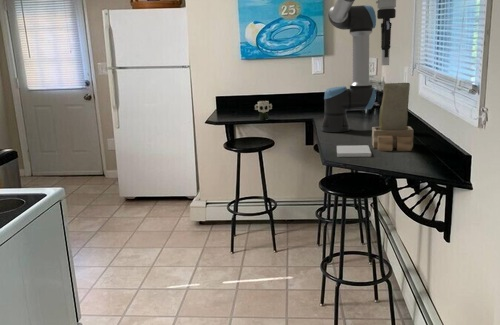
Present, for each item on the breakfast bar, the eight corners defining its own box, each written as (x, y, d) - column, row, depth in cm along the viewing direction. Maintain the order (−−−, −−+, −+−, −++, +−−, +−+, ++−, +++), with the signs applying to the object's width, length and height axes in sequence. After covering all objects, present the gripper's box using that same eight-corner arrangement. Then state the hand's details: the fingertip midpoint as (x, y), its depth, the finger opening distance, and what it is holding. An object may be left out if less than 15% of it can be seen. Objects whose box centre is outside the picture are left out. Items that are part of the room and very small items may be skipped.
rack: (371, 143, 224) (372, 126, 222) (409, 143, 221) (409, 126, 219) (373, 148, 215) (374, 130, 213) (412, 147, 212) (413, 130, 210)
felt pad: (336, 148, 216) (336, 145, 216) (368, 148, 214) (368, 145, 214) (337, 156, 201) (337, 153, 201) (371, 156, 199) (371, 153, 198)
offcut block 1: (377, 148, 213) (377, 135, 212) (391, 148, 212) (391, 135, 210) (378, 150, 209) (378, 137, 208) (392, 150, 208) (392, 137, 207)
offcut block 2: (395, 148, 212) (396, 135, 210) (409, 148, 211) (410, 135, 209) (397, 150, 208) (397, 137, 206) (411, 150, 207) (411, 137, 205)
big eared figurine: (255, 122, 303) (254, 102, 300) (255, 121, 310) (254, 101, 307) (272, 122, 303) (272, 101, 300) (271, 120, 310) (271, 100, 307)
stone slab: (404, 143, 219) (410, 81, 204) (405, 147, 215) (412, 84, 201) (376, 142, 221) (381, 81, 206) (377, 147, 217) (382, 84, 203)
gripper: (375, 10, 210) (374, 64, 215) (379, 7, 195) (378, 66, 200) (392, 9, 209) (391, 64, 214) (398, 6, 193) (396, 65, 199)
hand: (385, 65), depth 207 cm, fingers open, 3 cm apart
